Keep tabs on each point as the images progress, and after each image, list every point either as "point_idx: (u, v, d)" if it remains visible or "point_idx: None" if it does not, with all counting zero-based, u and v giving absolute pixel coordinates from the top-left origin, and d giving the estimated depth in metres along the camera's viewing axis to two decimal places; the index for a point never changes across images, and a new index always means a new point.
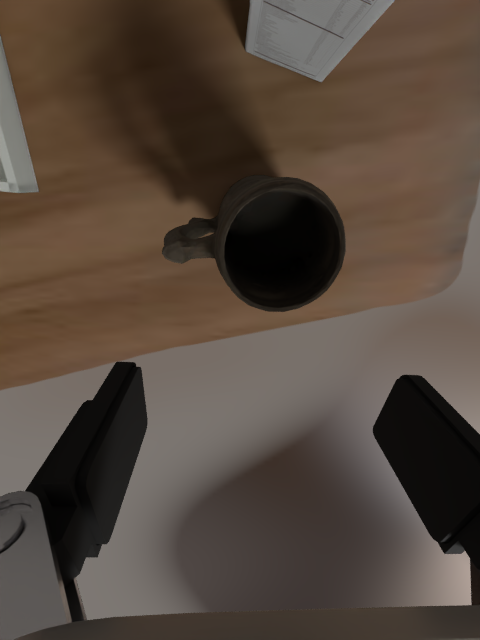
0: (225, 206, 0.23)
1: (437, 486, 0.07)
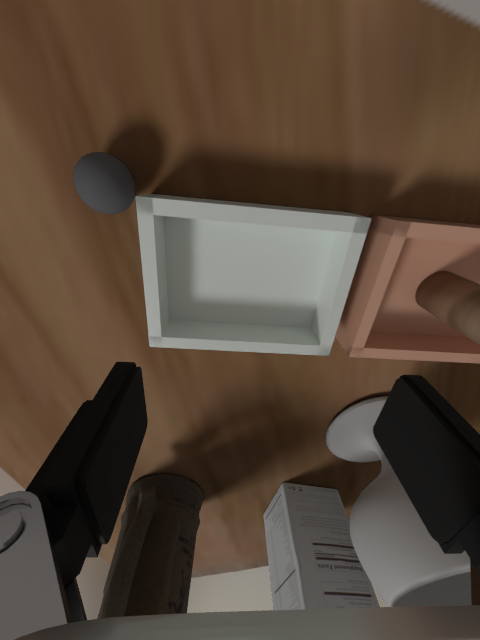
0: None
1: (437, 486, 0.07)
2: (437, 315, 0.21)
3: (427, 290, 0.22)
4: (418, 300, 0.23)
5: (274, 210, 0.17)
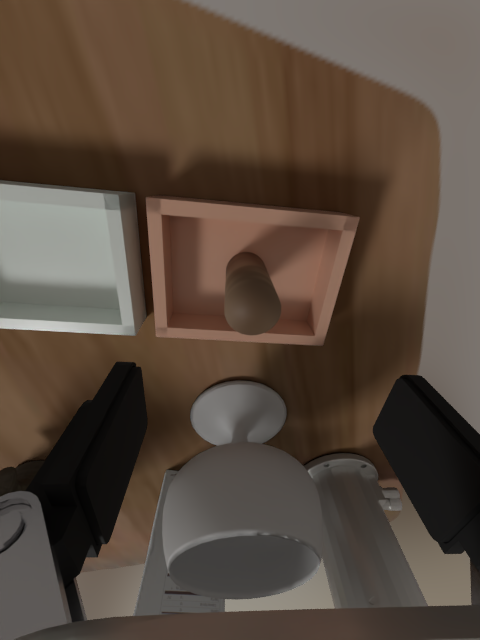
0: None
1: (437, 487, 0.07)
2: None
3: (226, 270, 0.22)
4: None
5: (16, 186, 0.17)
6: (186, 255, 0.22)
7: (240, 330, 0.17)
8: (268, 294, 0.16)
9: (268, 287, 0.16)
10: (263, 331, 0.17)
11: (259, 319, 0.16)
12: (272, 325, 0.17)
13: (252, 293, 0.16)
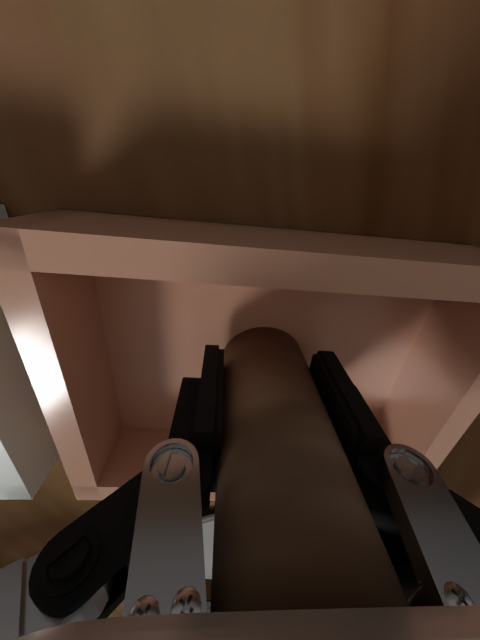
0: None
1: None
2: None
3: None
4: None
5: None
6: (137, 334, 0.11)
7: None
8: None
9: (385, 604, 0.04)
10: None
11: None
12: None
13: None
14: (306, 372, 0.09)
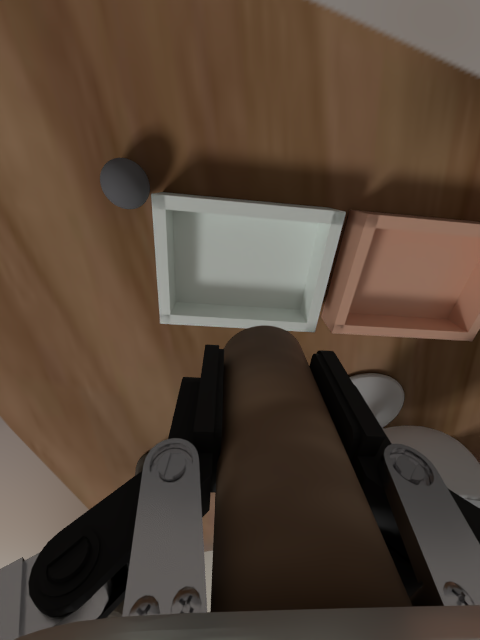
0: None
1: None
2: None
3: None
4: None
5: (265, 205, 0.20)
6: None
7: None
8: None
9: (388, 604, 0.04)
10: None
11: None
12: None
13: None
14: (307, 371, 0.09)
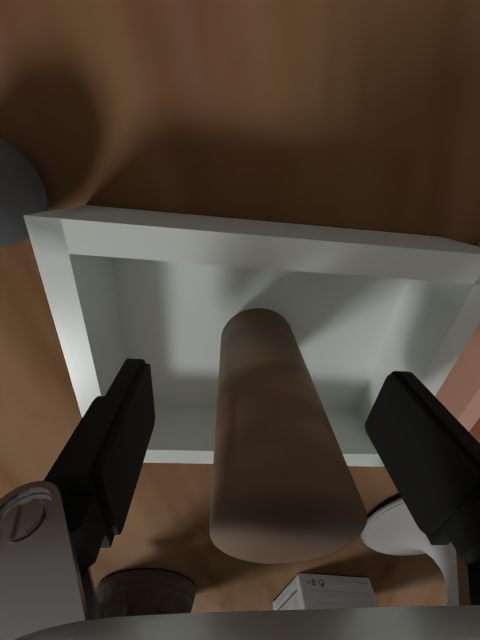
0: None
1: (425, 479, 0.07)
2: None
3: (221, 345, 0.12)
4: None
5: (324, 243, 0.08)
6: None
7: (252, 558, 0.07)
8: (335, 502, 0.05)
9: (338, 485, 0.05)
10: (310, 558, 0.07)
11: (304, 541, 0.06)
12: (335, 549, 0.06)
13: (290, 502, 0.05)
14: (293, 344, 0.10)
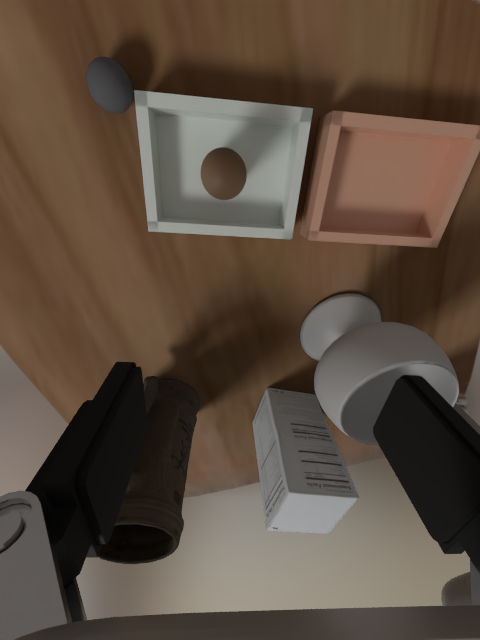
0: (164, 460, 0.30)
1: (437, 486, 0.07)
2: None
3: None
4: None
5: (239, 101, 0.22)
6: (333, 171, 0.28)
7: (214, 194, 0.21)
8: (234, 157, 0.20)
9: None
10: (233, 196, 0.21)
11: (229, 183, 0.20)
12: (240, 189, 0.21)
13: (222, 156, 0.20)
14: None
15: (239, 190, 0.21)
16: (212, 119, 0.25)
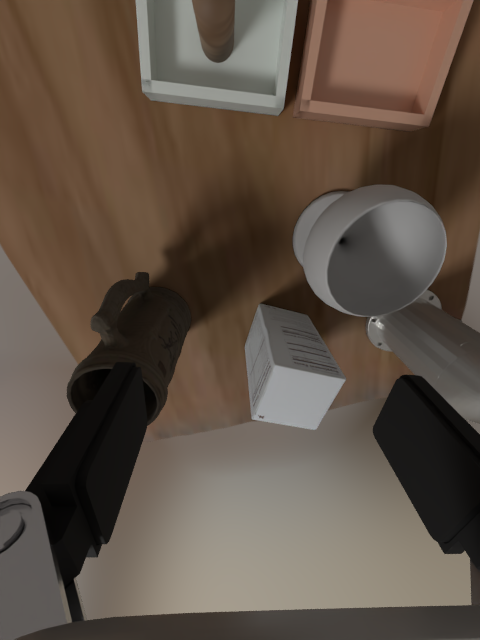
0: (150, 335, 0.30)
1: (437, 487, 0.07)
2: (202, 41, 0.26)
3: None
4: (202, 48, 0.28)
5: None
6: (325, 42, 0.28)
7: (204, 15, 0.21)
8: None
9: None
10: (222, 17, 0.21)
11: (218, 1, 0.21)
12: (229, 10, 0.21)
13: None
14: None
15: (228, 11, 0.21)
16: None
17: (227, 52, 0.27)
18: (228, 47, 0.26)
